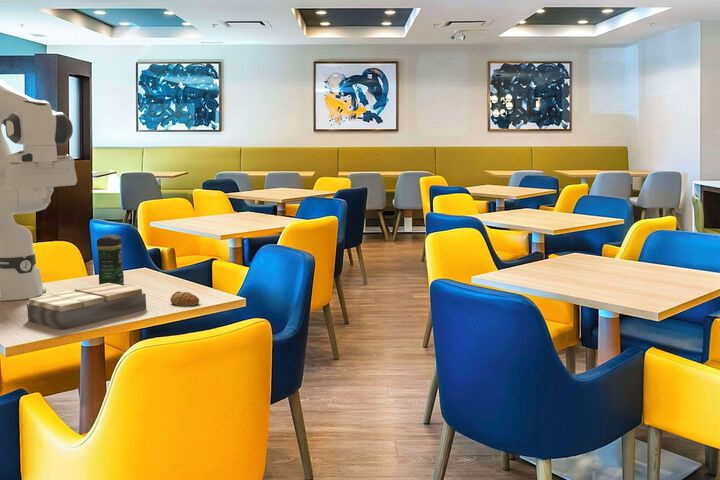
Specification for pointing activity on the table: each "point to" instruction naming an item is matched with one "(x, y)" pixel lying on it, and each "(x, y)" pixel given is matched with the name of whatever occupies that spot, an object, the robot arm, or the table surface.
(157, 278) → the table surface
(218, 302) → the table surface
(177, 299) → the pastry
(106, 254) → the coffee jar
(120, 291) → the plank
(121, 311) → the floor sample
